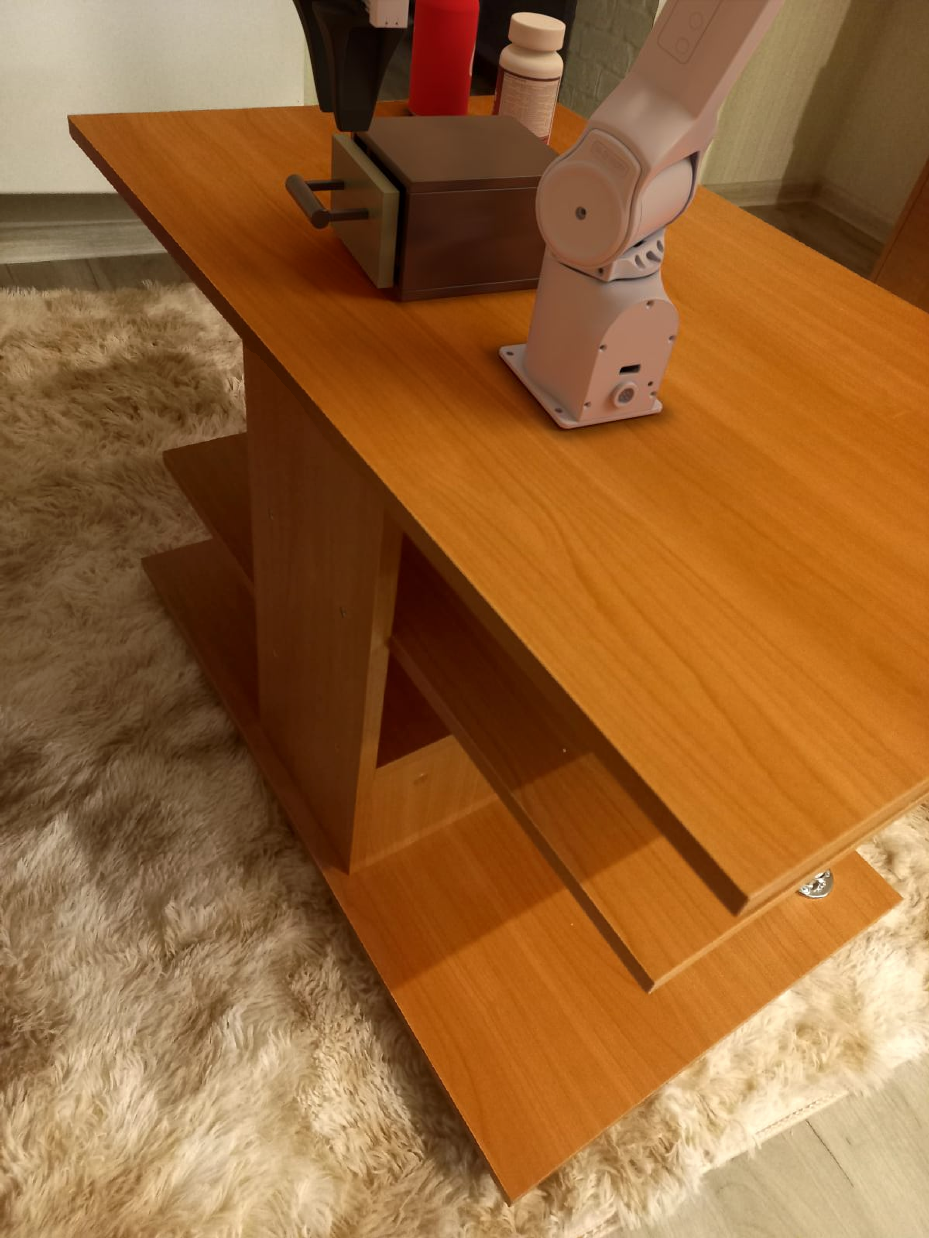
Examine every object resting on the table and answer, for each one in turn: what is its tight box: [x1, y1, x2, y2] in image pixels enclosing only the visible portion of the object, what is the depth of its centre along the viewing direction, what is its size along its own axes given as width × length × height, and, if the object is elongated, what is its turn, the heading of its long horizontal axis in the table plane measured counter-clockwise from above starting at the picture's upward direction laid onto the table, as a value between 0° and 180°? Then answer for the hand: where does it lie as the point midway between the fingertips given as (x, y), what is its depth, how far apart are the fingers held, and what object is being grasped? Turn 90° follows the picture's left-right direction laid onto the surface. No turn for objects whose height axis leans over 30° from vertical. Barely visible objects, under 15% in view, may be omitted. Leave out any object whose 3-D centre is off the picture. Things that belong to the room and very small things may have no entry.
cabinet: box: [350, 114, 561, 303], centre depth 67 cm, size 14×12×9 cm
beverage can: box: [407, 0, 480, 117], centre depth 88 cm, size 6×6×12 cm
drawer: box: [284, 133, 406, 289], centre depth 65 cm, size 17×10×7 cm, turn 115°
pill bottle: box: [491, 11, 566, 146], centre depth 85 cm, size 6×6×11 cm
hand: (343, 120), depth 59 cm, fingers open, 3 cm apart
